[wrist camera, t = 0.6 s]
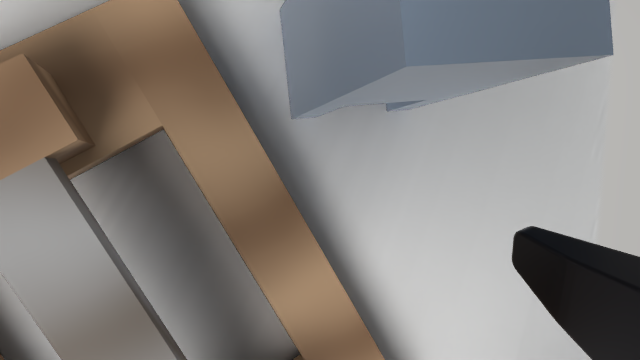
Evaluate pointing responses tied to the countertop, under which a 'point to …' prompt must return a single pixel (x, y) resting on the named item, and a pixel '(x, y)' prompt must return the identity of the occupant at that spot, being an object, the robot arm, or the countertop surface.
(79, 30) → the wooden block stand
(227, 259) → the countertop surface
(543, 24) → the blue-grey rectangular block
